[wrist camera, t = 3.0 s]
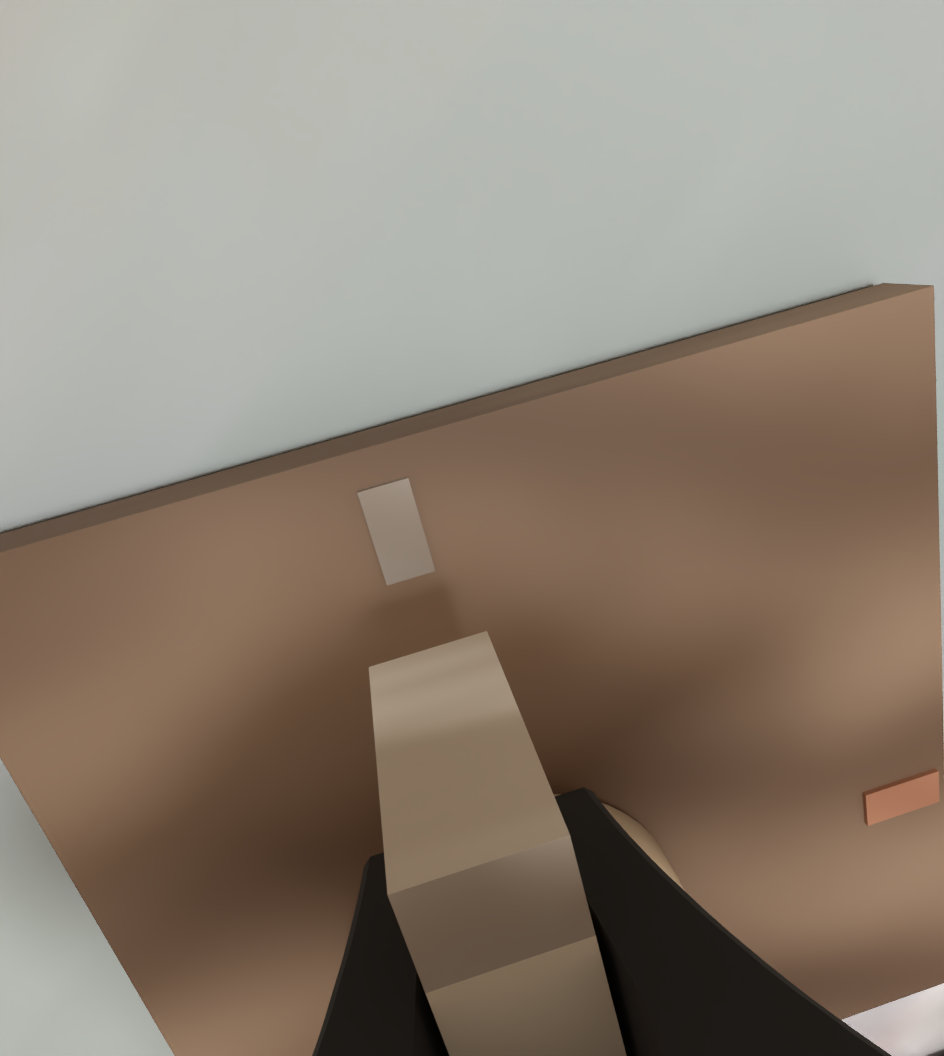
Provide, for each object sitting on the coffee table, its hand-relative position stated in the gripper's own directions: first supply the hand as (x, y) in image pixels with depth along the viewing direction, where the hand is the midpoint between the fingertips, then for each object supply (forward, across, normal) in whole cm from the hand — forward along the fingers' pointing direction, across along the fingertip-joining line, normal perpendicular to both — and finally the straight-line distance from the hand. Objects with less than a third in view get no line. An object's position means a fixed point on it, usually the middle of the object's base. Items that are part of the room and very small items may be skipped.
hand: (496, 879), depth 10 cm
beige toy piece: (+4, 0, +3) cm, 4 cm away
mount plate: (+5, -1, +3) cm, 6 cm away
